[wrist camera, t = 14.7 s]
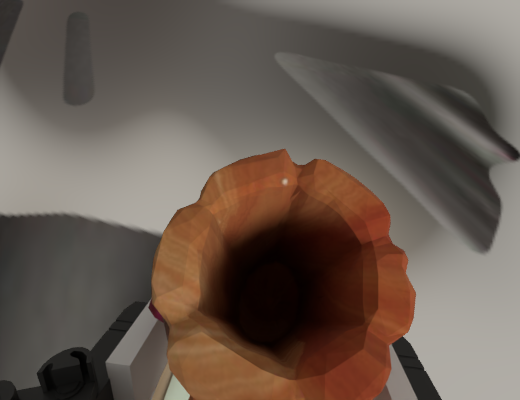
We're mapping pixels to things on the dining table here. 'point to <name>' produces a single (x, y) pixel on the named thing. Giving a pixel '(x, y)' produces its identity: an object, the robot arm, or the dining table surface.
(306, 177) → the mug
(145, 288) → the dining table surface
